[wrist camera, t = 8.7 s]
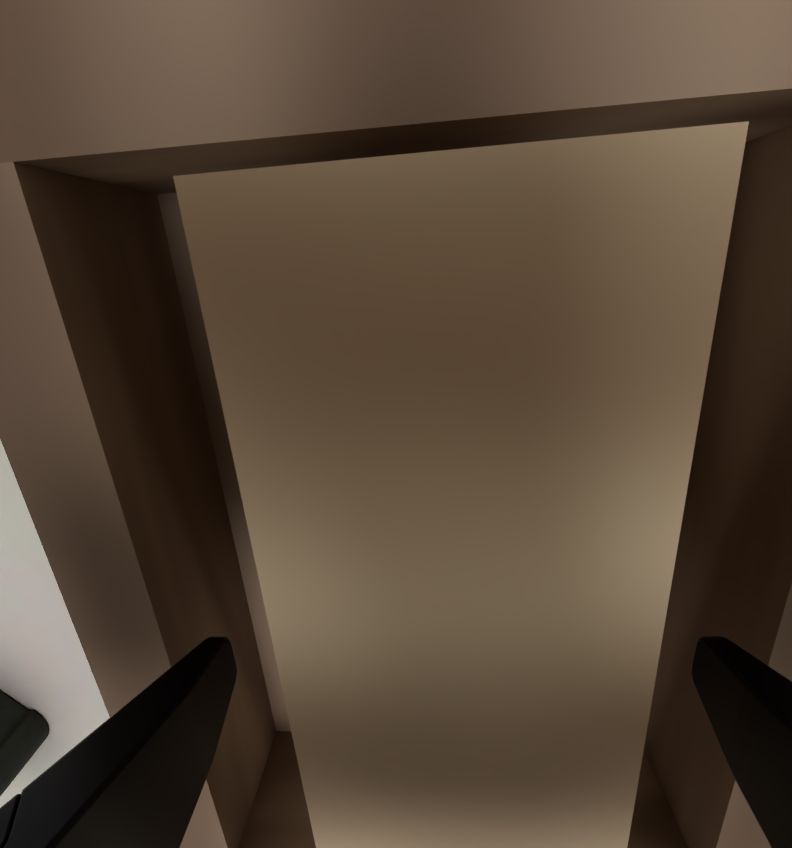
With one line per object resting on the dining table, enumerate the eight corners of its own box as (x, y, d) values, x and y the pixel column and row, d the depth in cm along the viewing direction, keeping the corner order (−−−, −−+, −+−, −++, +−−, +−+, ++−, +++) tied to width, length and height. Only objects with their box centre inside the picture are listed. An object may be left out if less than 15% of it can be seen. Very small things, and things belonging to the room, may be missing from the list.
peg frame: (826, 39, 10) (1193, -159, 5) (676, 749, 17) (768, 932, 13) (82, 115, 11) (-167, 15, 6) (244, 740, 19) (182, 902, 14)
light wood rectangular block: (547, 812, 13) (595, 1037, 9) (373, 807, 13) (352, 1020, 10) (588, 187, 8) (749, 120, 4) (292, 212, 8) (173, 176, 4)
